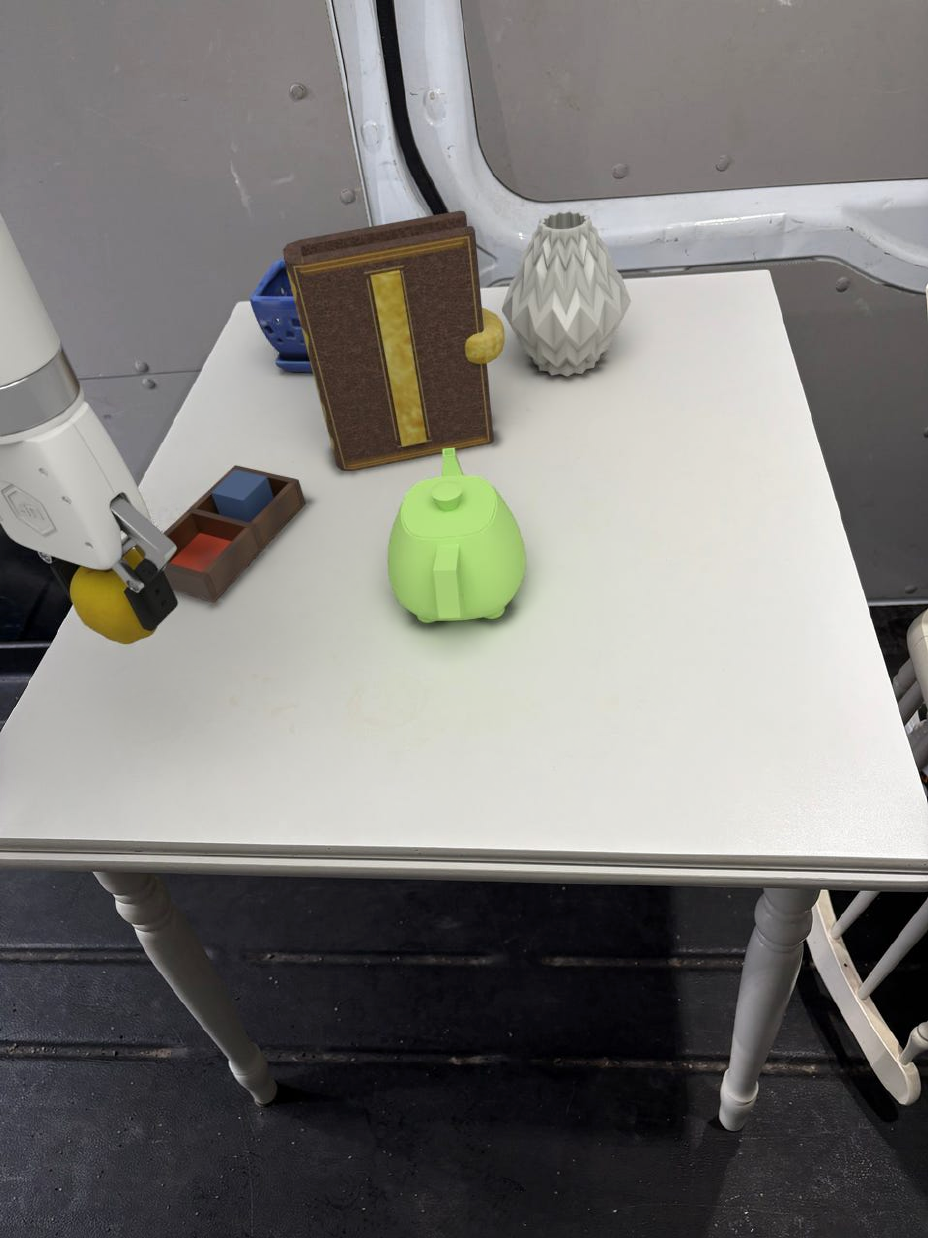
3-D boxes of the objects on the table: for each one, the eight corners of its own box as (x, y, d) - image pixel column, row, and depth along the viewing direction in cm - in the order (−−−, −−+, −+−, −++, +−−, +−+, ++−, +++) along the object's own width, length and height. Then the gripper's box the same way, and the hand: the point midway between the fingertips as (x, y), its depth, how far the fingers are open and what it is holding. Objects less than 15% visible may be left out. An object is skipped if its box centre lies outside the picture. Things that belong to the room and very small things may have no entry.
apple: (86, 665, 62) (37, 587, 56) (114, 605, 67) (71, 527, 61) (169, 661, 62) (128, 582, 56) (191, 600, 66) (155, 522, 60)
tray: (213, 602, 86) (203, 578, 84) (147, 582, 90) (135, 558, 87) (305, 503, 97) (298, 479, 94) (243, 488, 100) (235, 464, 98)
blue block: (223, 523, 95) (210, 492, 92) (246, 500, 98) (235, 468, 94) (254, 532, 93) (243, 500, 90) (277, 508, 96) (267, 476, 93)
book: (338, 478, 99) (285, 271, 82) (332, 440, 105) (281, 238, 88) (518, 442, 101) (504, 230, 83) (502, 406, 107) (486, 201, 89)
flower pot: (380, 333, 124) (365, 252, 116) (359, 379, 115) (341, 296, 107) (295, 335, 127) (275, 256, 118) (269, 381, 118) (244, 299, 109)
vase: (615, 397, 106) (620, 250, 92) (492, 388, 110) (479, 246, 97) (637, 335, 116) (644, 194, 103) (524, 328, 121) (516, 193, 107)
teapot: (402, 529, 92) (382, 431, 83) (524, 520, 90) (517, 420, 81) (387, 667, 78) (361, 567, 69) (531, 659, 77) (524, 556, 68)
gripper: (-136, 397, 50) (7, 608, 63) (67, 451, 44) (181, 674, 57) (-36, 339, 55) (79, 547, 68) (162, 380, 48) (248, 601, 61)
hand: (125, 603), depth 62 cm, fingers closed on apple, 6 cm apart
